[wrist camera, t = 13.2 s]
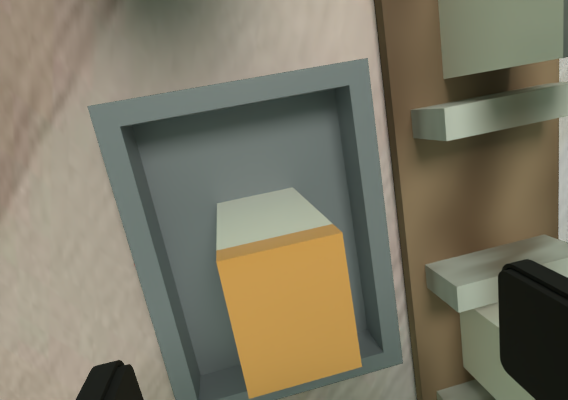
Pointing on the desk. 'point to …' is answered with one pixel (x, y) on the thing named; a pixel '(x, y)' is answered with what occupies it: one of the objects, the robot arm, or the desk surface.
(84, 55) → the desk surface
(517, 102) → the fuse board
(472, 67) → the block
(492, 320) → the block
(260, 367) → the block
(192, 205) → the tray
